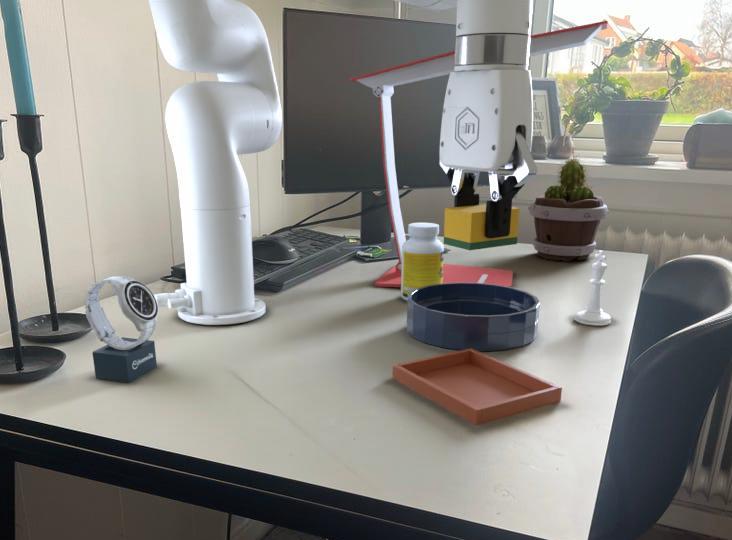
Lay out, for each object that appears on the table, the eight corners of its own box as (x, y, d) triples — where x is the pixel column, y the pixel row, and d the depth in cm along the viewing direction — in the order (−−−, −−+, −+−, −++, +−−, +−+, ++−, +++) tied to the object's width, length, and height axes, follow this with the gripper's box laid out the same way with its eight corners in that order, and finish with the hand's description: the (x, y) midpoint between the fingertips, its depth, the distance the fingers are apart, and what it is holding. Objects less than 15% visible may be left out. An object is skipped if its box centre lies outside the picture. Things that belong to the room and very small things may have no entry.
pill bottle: (439, 305, 108) (443, 229, 104) (397, 303, 109) (399, 227, 105) (443, 294, 114) (446, 222, 110) (403, 292, 115) (405, 220, 111)
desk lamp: (575, 303, 109) (608, 17, 95) (339, 284, 120) (338, 25, 106) (578, 278, 125) (606, 29, 111) (369, 263, 136) (372, 35, 122)
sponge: (469, 250, 76) (471, 213, 75) (443, 243, 80) (444, 208, 78) (517, 244, 80) (520, 208, 78) (489, 238, 83) (492, 203, 82)
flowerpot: (597, 267, 133) (611, 156, 126) (516, 259, 139) (525, 154, 132) (607, 253, 145) (620, 152, 139) (532, 247, 152) (541, 149, 145)
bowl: (461, 364, 84) (463, 324, 82) (382, 327, 97) (382, 292, 96) (563, 341, 92) (567, 304, 90) (477, 310, 105) (479, 277, 104)
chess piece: (592, 327, 97) (601, 255, 94) (567, 318, 101) (574, 249, 98) (618, 322, 99) (628, 252, 96) (592, 314, 104) (600, 246, 100)
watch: (144, 385, 77) (133, 287, 74) (82, 376, 80) (69, 281, 76) (171, 367, 82) (163, 275, 79) (113, 360, 85) (102, 270, 81)
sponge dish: (475, 429, 67) (477, 410, 66) (391, 381, 78) (392, 364, 78) (560, 405, 72) (562, 387, 72) (470, 363, 84) (471, 348, 83)
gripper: (413, 59, 78) (409, 226, 84) (524, 50, 65) (509, 249, 71) (465, 61, 82) (457, 220, 88) (580, 53, 68) (561, 241, 74)
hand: (480, 231), depth 79 cm, fingers closed on sponge, 4 cm apart
